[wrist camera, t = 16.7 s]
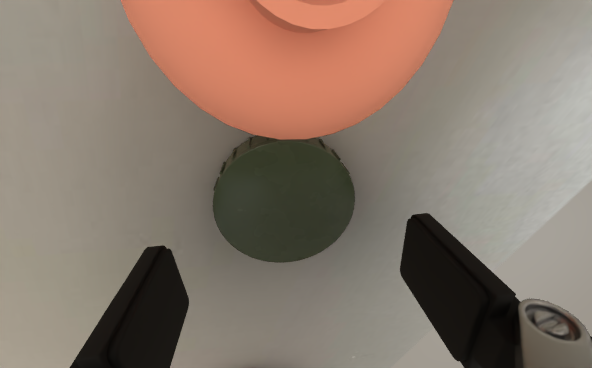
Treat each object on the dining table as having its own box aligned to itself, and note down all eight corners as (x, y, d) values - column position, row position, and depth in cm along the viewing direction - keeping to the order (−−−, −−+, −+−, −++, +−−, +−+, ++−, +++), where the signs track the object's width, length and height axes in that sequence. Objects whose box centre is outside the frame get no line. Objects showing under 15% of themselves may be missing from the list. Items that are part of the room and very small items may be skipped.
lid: (188, 181, 13) (178, 199, 12) (300, 99, 12) (306, 106, 10) (270, 260, 16) (271, 282, 15) (366, 200, 15) (379, 218, 13)
